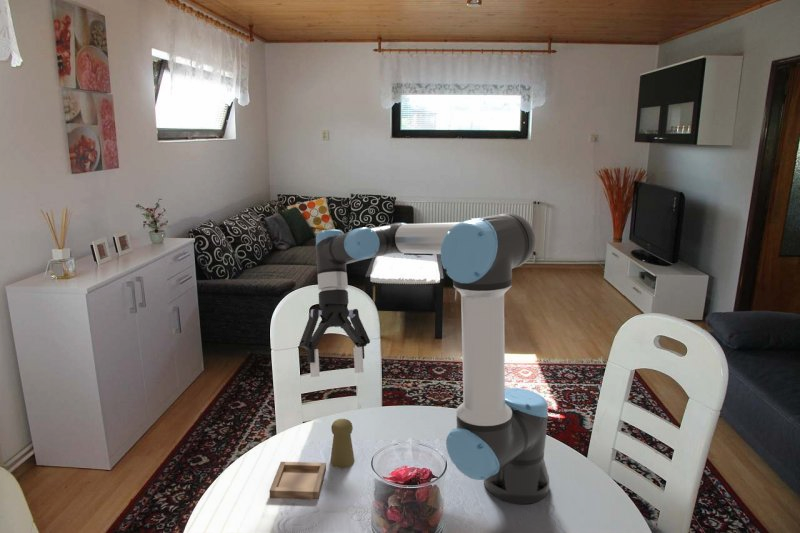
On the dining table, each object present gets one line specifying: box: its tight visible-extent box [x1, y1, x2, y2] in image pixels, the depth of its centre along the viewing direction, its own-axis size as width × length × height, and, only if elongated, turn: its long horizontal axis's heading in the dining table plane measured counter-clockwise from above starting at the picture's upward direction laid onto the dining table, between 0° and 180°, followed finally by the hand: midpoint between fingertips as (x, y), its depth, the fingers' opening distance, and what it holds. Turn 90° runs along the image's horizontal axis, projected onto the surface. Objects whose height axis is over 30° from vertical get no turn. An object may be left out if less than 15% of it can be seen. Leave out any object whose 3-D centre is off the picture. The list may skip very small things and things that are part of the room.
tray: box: [269, 461, 327, 501], centre depth 133 cm, size 11×11×2 cm
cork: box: [329, 418, 356, 469], centre depth 141 cm, size 6×6×11 cm
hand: (337, 374), depth 142 cm, fingers open, 13 cm apart
